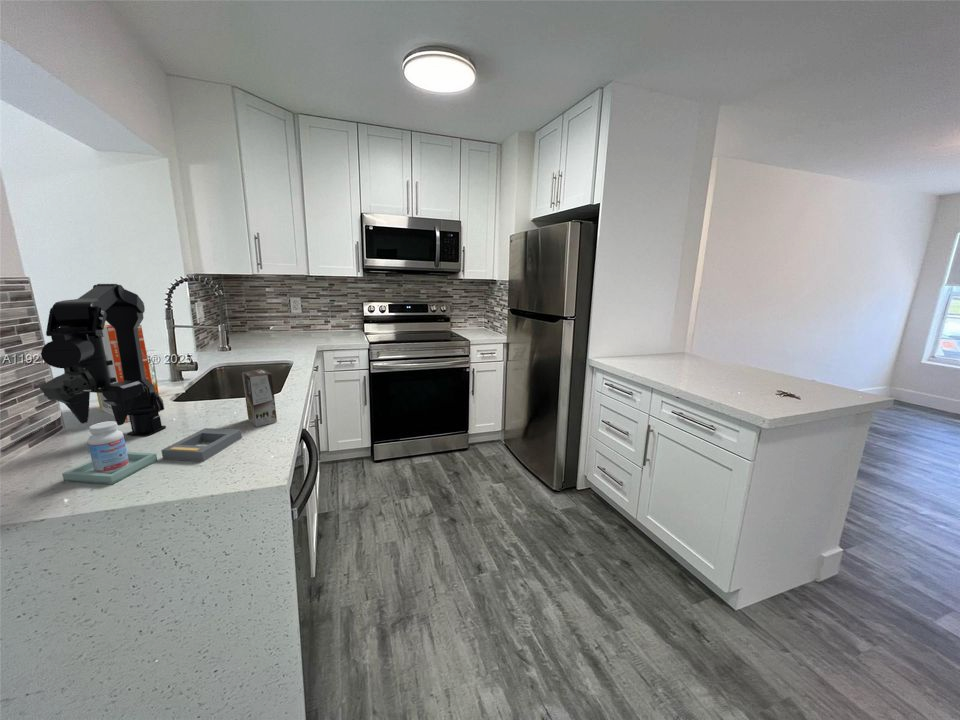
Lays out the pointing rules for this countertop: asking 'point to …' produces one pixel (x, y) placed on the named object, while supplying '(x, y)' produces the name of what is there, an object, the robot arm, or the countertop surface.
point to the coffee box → (259, 397)
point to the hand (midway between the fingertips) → (102, 423)
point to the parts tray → (88, 475)
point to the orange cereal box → (118, 361)
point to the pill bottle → (107, 448)
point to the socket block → (190, 452)
